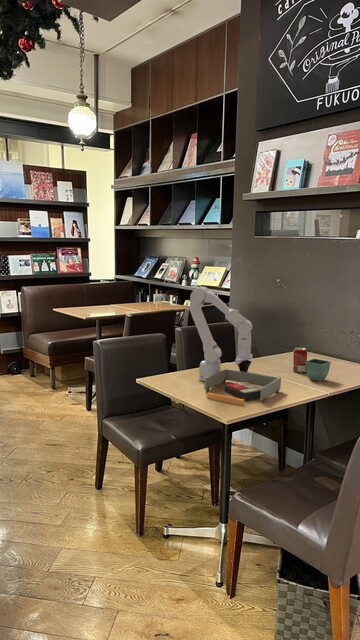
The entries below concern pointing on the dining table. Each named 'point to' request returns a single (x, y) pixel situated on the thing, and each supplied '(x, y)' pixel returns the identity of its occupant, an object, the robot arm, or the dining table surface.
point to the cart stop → (225, 398)
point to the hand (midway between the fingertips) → (243, 376)
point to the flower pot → (317, 369)
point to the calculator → (244, 391)
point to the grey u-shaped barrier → (268, 382)
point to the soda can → (299, 360)
